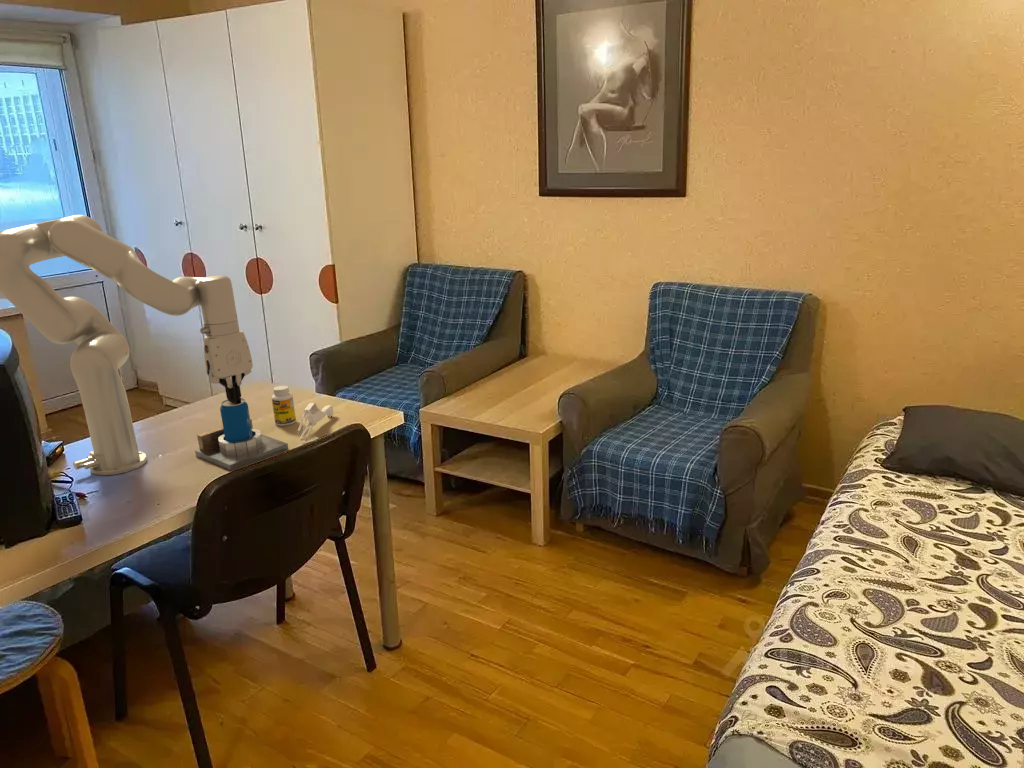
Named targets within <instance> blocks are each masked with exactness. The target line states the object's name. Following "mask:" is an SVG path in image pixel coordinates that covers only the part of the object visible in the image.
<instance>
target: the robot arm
mask: <svg viewBox="0 0 1024 768" xmlns="http://www.w3.org/2000/svg"><path fill="white" fill-rule="evenodd" d="M62 257H67V258H69V259H70V260H72V261H75V262H77V263H79V264H81V265H82V266H84V267H87V268H88V269H90V270H93V271H95V272H97V273H98V274H100V275H102V276H104V277H107V278H108V279H110V280H111V281H113V282H114V283H116V284H117V286H118V287H119V288H122V289H123V290H124V291H125V292H126V293H127V294H128V295H131V297H133V298H134V299H136V300H138V301H140V302H141V303H143V304H145V305H146V306H149V307H151V308H152V309H155V310H157V311H159V312H161V313H163V314H166V315H169V316H175V317H177V316H184V315H185V314H187V313H188V312H189V311H191V310H192V309H194V308H196V307H198V306H200V308H201V312H202V317H203V327H202V328H200V329H199V332H200V334H202V335H205V336H204V337H203V338H204V339H203V356H204V357H203V358H204V366H205V371H206V374H207V375H208V382H209V383H210V384H212V385H213V384H214V385H216V384H217V385H218V384H220V385H221V386H223V387H224V389H225V395H226V400H228V401H229V402H232V403H237V402H240V401H241V398H242V392H241V385H242V381H243V380H244V378H245V377H246V376H248V375H250V374H251V373H252V369H253V365H254V364H253V359H252V354H251V350H250V347H249V344H248V340H247V337H246V335H245V332H244V330H240V327H239V326H240V325H239V320H238V319H239V318H238V315H237V307H236V302H235V296H234V290H233V284H232V283H233V282H232V280H231V278H230V277H229V276H227V275H210V276H205V277H200V276H199V277H198V276H197V277H196V276H180V277H178V276H177V277H176V278H174V279H173V280H170V279H169V278H166V277H164V276H162V275H160V274H159V273H157V272H155V271H153V270H152V269H150V268H149V267H147V265H145V264H144V263H143V262H142V260H140V258H139V256H138V255H137V253H136V251H135V250H134V248H132V247H131V246H130V245H128V244H126V243H124V242H122V241H119V240H118V239H116V238H114V237H112V236H110V235H108V234H107V233H105V232H103V229H102V227H101V225H100V224H99V223H98V222H97V221H96V220H95V219H94V218H92V217H89V216H87V215H84V214H72V215H70V216H69V215H68V216H66V217H65V216H64V217H62V218H58V219H54V220H53V219H52V220H48V221H43V222H38V223H32V224H27V225H21V226H18V227H13V228H8V229H4V230H1V231H0V294H1V295H2V296H3V297H4V298H5V299H6V300H8V302H10V303H11V304H12V306H14V308H16V309H17V310H18V312H20V314H22V315H23V317H24V318H25V319H27V320H28V321H29V323H30V324H31V325H33V326H34V327H35V329H37V331H39V332H40V333H41V334H42V336H44V337H45V339H47V340H48V341H50V342H52V343H53V344H56V345H67V344H70V343H72V342H74V343H76V345H77V347H75V349H74V350H73V351H72V354H71V356H70V361H69V362H70V363H69V365H70V370H71V374H72V377H73V379H74V381H75V383H76V386H77V389H78V392H79V395H80V398H81V399H80V401H81V404H82V407H83V412H84V415H85V420H86V424H87V428H88V433H89V438H90V441H91V446H92V450H93V451H92V450H91V451H89V456H86V458H84V459H80V460H76V461H74V462H73V463H72V464H73V468H74V469H75V470H76V471H77V470H80V469H83V468H84V469H85V470H90V472H91V473H92V474H93V475H98V476H112V475H119V474H122V473H126V472H127V473H128V472H131V471H133V470H136V469H138V468H140V467H142V466H143V465H144V464H145V463H146V462H147V461H148V456H147V454H146V453H145V452H143V451H139V449H138V448H139V447H138V443H137V438H136V433H135V429H134V424H133V419H132V414H131V409H130V404H129V400H128V394H127V391H126V388H125V387H126V386H125V385H124V383H123V380H122V377H121V375H120V372H119V369H120V368H121V367H122V366H124V364H126V362H127V361H128V359H129V357H130V345H129V342H128V341H127V339H126V338H125V336H124V335H123V334H122V333H121V332H120V331H119V330H118V329H117V328H116V326H114V324H112V323H111V322H110V321H109V320H108V319H107V318H106V317H105V315H104V314H103V313H102V312H101V311H100V310H99V309H98V308H97V307H96V306H95V305H94V304H92V303H91V302H89V301H88V300H86V299H84V298H81V297H78V296H65V297H63V296H61V295H60V294H59V293H58V292H57V291H56V290H55V289H54V288H53V287H52V286H51V285H50V283H49V282H47V281H46V280H45V278H42V277H41V276H39V275H38V274H37V273H35V272H34V271H33V270H32V269H31V268H30V266H31V265H34V264H37V263H40V262H43V261H47V260H51V259H52V260H53V259H57V258H62Z"/></svg>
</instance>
